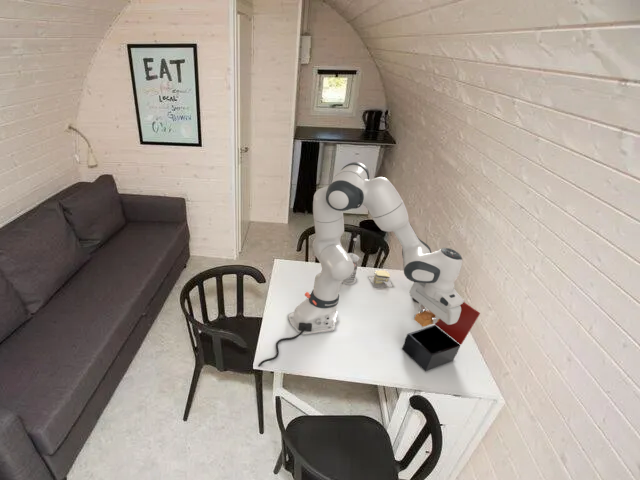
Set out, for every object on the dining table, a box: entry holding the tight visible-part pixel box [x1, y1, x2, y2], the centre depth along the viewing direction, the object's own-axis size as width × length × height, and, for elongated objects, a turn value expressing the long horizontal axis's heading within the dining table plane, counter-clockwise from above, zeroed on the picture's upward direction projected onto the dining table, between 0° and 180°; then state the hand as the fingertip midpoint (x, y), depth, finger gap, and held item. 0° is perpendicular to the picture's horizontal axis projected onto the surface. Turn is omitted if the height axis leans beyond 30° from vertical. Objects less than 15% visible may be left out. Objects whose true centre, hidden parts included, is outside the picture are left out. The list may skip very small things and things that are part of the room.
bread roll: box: [413, 309, 440, 328], centre depth 138 cm, size 8×4×4 cm, turn 111°
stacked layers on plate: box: [368, 269, 394, 288], centre depth 187 cm, size 10×9×6 cm
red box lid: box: [434, 301, 481, 346], centre depth 139 cm, size 15×13×1 cm
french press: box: [341, 237, 360, 285], centre depth 183 cm, size 10×12×25 cm
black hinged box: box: [401, 324, 462, 372], centre depth 143 cm, size 15×13×9 cm
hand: (427, 317), depth 138 cm, fingers closed on bread roll, 4 cm apart
